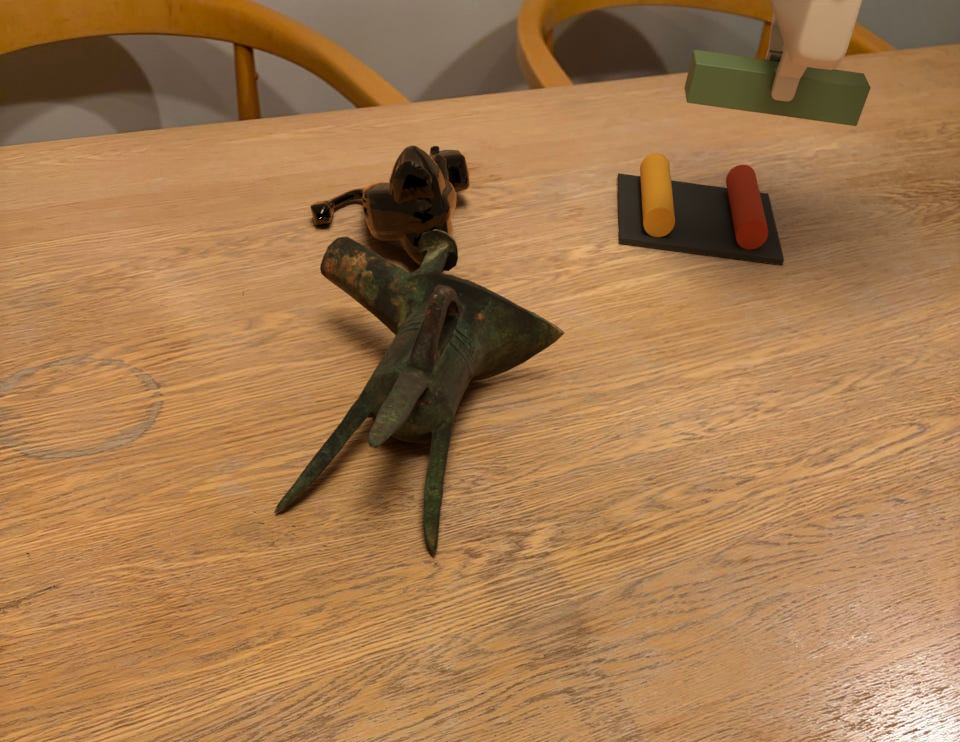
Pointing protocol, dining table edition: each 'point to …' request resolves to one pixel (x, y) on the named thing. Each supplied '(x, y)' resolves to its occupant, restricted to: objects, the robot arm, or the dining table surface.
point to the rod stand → (697, 214)
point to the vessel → (424, 353)
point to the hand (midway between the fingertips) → (776, 86)
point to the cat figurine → (408, 197)
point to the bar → (749, 88)
